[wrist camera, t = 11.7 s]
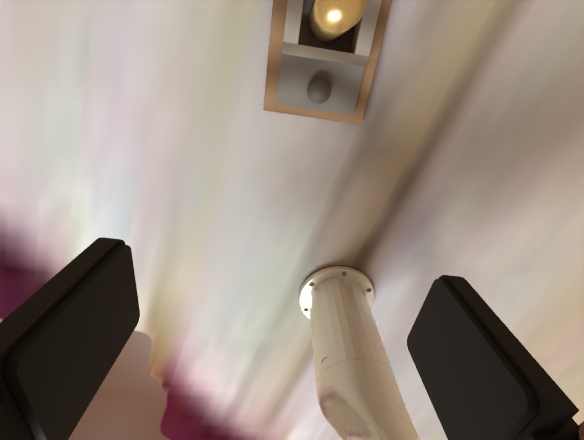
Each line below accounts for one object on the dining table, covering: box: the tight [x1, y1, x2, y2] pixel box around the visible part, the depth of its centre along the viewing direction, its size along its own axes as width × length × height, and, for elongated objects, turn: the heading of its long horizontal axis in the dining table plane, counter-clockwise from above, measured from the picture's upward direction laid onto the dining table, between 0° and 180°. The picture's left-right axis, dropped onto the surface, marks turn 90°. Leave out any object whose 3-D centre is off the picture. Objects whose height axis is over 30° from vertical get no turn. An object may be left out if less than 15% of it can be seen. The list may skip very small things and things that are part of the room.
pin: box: [310, 0, 367, 41], centre depth 27 cm, size 4×4×9 cm
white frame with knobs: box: [263, 0, 392, 125], centre depth 29 cm, size 20×12×4 cm, turn 172°
